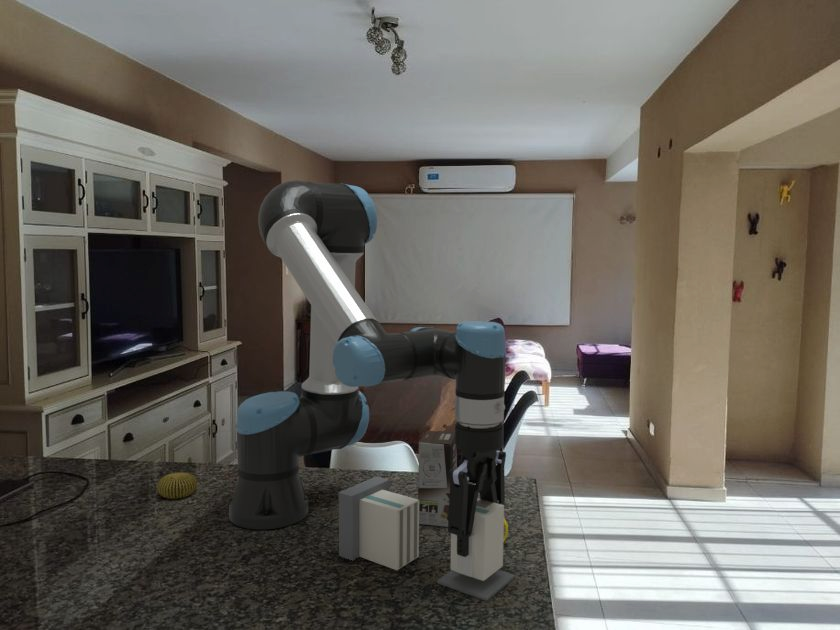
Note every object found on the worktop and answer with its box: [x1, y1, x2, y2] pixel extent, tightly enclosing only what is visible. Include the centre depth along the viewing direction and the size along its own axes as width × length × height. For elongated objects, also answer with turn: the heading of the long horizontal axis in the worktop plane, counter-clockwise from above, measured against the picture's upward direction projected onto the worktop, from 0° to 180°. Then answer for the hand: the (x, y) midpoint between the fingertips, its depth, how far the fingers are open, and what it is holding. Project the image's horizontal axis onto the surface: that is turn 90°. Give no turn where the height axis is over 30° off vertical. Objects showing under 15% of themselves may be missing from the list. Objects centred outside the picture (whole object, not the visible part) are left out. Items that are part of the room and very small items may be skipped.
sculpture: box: [156, 471, 198, 500], centre depth 140 cm, size 8×4×8 cm
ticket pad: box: [337, 475, 420, 571], centre depth 113 cm, size 12×10×11 cm
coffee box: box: [417, 430, 458, 528], centre depth 129 cm, size 9×6×16 cm
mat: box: [436, 569, 516, 602], centre depth 105 cm, size 9×9×1 cm
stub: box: [450, 497, 505, 581], centre depth 104 cm, size 6×6×10 cm
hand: (476, 565), depth 105 cm, fingers closed on stub, 6 cm apart
